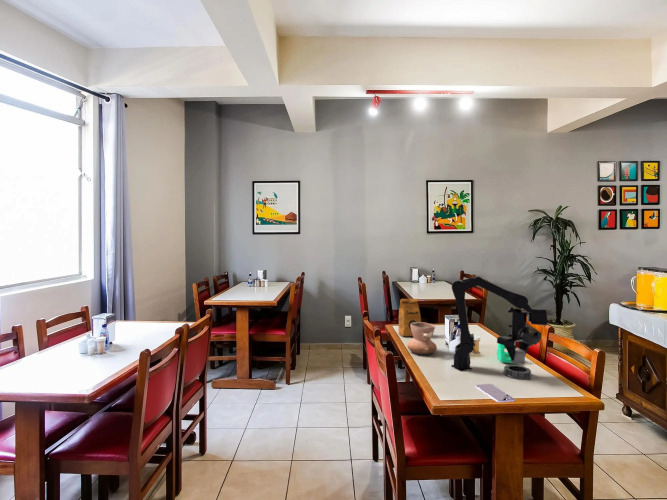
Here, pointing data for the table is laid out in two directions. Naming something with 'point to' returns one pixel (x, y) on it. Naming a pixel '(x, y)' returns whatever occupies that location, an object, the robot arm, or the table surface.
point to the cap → (519, 356)
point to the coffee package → (408, 315)
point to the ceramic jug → (422, 338)
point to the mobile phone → (494, 393)
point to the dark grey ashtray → (517, 372)
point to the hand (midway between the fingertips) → (517, 359)
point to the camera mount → (503, 354)
